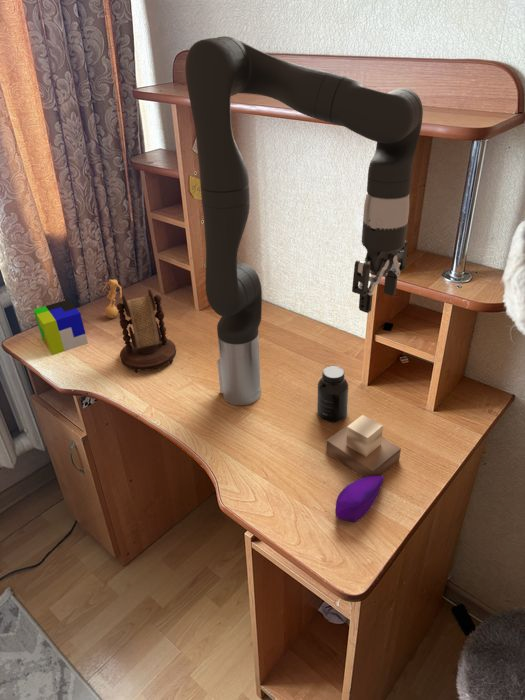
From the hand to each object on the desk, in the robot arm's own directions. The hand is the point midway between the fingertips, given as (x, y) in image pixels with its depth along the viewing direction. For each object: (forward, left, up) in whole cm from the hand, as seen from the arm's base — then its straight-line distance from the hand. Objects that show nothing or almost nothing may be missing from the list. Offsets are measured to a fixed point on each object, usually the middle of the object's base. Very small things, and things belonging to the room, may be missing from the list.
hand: (377, 302), depth 101 cm
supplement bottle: (-9, 0, -32) cm, 34 cm away
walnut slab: (+4, -7, -33) cm, 34 cm away
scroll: (-60, -13, -32) cm, 69 cm away
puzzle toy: (-86, -23, -32) cm, 95 cm away
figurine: (-87, -5, -32) cm, 93 cm away
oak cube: (+4, -7, -29) cm, 30 cm away
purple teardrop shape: (+10, -18, -32) cm, 38 cm away
